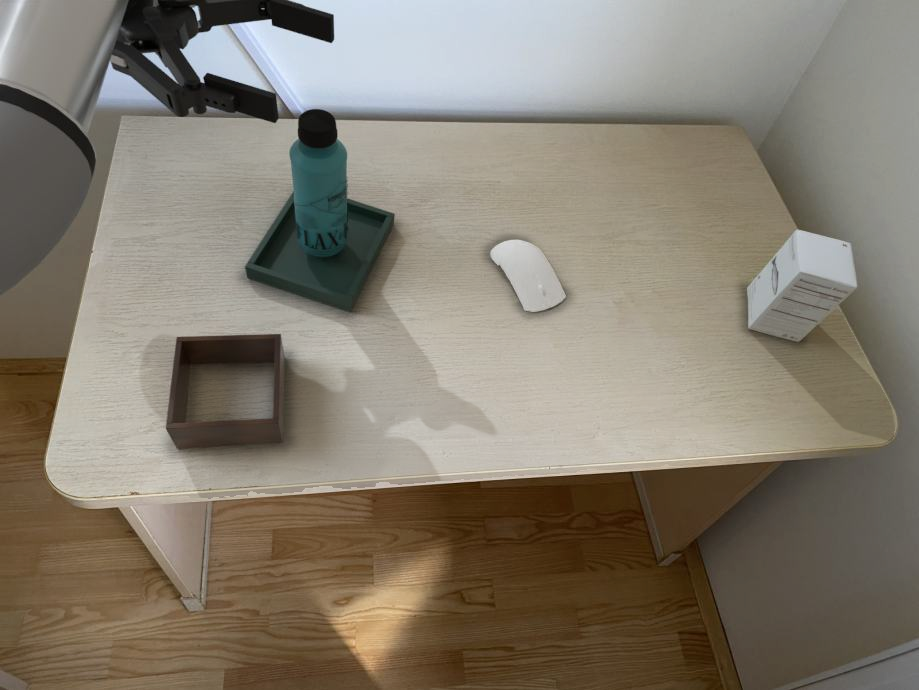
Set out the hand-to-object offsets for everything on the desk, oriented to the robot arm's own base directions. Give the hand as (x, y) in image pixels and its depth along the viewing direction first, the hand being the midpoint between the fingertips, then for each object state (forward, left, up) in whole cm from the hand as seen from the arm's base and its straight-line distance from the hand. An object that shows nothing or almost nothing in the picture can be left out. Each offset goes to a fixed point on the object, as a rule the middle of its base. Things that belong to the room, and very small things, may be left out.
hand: (306, 66), depth 63 cm
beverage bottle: (0, -1, -26) cm, 26 cm away
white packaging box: (+41, -46, -27) cm, 67 cm away
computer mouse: (+19, -20, -27) cm, 39 cm away
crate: (-21, -12, -27) cm, 36 cm away
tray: (0, -1, -27) cm, 27 cm away
